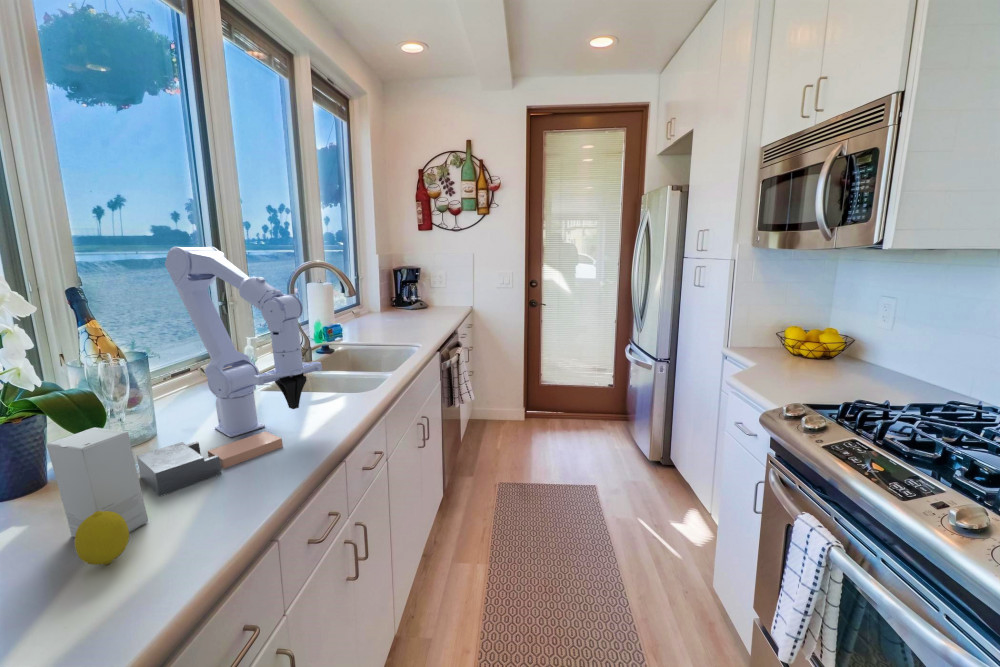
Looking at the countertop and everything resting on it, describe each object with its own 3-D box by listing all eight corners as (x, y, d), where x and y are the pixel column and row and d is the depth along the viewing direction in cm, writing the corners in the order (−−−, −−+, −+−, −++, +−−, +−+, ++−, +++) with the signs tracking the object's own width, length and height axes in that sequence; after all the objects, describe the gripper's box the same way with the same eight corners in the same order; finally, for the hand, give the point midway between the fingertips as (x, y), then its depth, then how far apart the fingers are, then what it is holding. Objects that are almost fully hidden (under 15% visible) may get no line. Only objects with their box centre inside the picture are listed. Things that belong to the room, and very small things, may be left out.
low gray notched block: (140, 476, 87) (136, 455, 86) (199, 457, 94) (196, 437, 93) (159, 496, 80) (155, 473, 79) (221, 473, 87) (218, 452, 86)
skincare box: (149, 522, 72) (132, 430, 69) (102, 548, 66) (81, 449, 63) (114, 513, 75) (96, 424, 72) (65, 537, 69) (44, 441, 66)
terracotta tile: (209, 461, 94) (207, 450, 93) (266, 441, 103) (265, 431, 103) (224, 470, 89) (222, 459, 89) (283, 448, 99) (281, 438, 98)
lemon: (103, 580, 59) (91, 526, 58) (70, 575, 60) (57, 521, 59) (143, 553, 65) (134, 502, 63) (112, 548, 66) (102, 498, 64)
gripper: (262, 358, 93) (269, 421, 95) (326, 345, 104) (332, 402, 106) (246, 354, 97) (254, 414, 100) (310, 342, 108) (316, 396, 111)
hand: (293, 407), depth 103 cm, fingers closed
